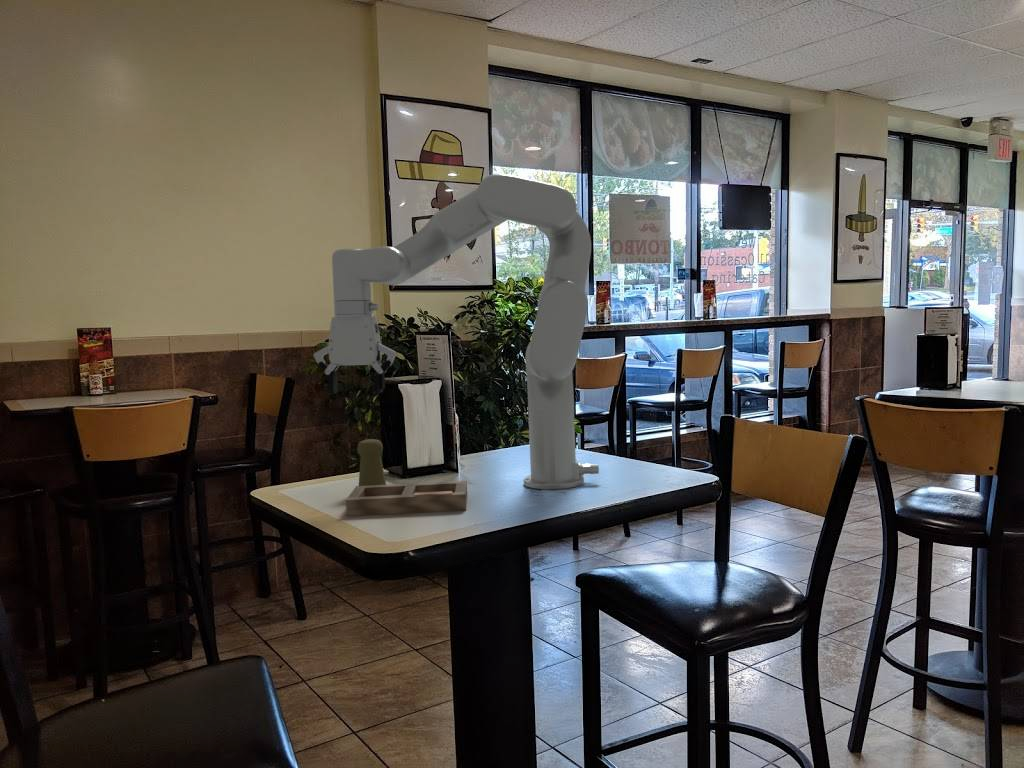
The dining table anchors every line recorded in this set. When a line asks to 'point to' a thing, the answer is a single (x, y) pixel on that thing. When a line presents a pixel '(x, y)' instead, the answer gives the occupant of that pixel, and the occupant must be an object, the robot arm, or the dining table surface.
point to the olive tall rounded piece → (371, 463)
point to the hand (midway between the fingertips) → (356, 393)
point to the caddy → (407, 498)
